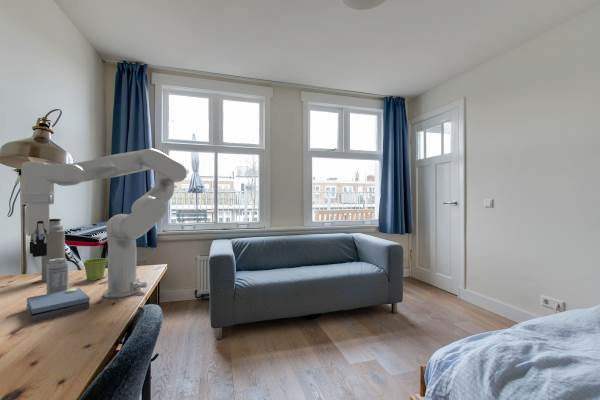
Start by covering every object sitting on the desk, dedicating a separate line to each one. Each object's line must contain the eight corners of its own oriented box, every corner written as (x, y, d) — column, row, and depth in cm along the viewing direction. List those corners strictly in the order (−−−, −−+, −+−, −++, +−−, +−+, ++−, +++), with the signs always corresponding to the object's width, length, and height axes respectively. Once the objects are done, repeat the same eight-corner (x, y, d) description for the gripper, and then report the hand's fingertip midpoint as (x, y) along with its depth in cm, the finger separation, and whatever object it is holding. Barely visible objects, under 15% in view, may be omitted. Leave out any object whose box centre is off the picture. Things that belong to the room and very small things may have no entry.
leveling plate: (79, 292, 100) (79, 286, 100) (89, 301, 91) (89, 295, 91) (26, 302, 89) (27, 295, 89) (32, 314, 80) (32, 307, 80)
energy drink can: (69, 294, 103) (69, 256, 103) (67, 299, 98) (67, 259, 98) (47, 298, 99) (47, 258, 99) (45, 303, 95) (45, 262, 94)
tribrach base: (79, 297, 100) (79, 292, 100) (89, 307, 91) (89, 302, 91) (26, 309, 89) (26, 304, 89) (32, 322, 80) (32, 316, 80)
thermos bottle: (40, 278, 123) (40, 218, 122) (63, 275, 129) (63, 217, 129) (42, 282, 118) (42, 219, 117) (66, 278, 124) (66, 218, 123)
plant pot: (88, 276, 127) (88, 258, 127) (110, 275, 130) (111, 257, 130) (78, 282, 118) (78, 263, 118) (103, 280, 121) (103, 261, 121)
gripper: (18, 199, 89) (18, 252, 89) (24, 200, 78) (24, 260, 78) (49, 199, 94) (49, 249, 95) (58, 200, 83) (58, 256, 84)
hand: (38, 254), depth 86 cm, fingers open, 6 cm apart
